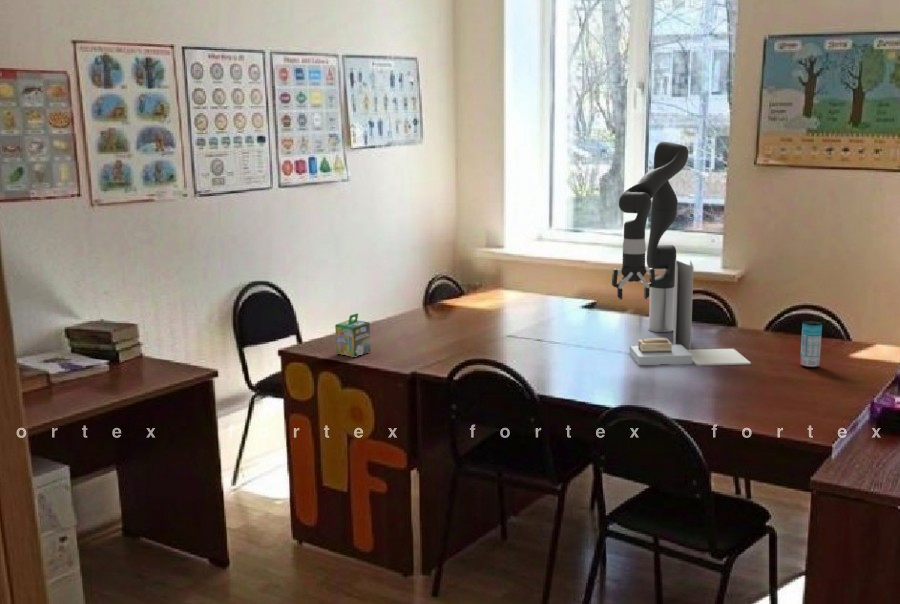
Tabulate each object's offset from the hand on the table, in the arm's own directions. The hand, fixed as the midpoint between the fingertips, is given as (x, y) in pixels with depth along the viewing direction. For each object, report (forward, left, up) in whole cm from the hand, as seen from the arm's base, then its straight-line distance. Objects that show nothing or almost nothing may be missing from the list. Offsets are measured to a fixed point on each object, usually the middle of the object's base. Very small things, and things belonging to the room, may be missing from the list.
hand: (633, 298), depth 300 cm
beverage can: (+15, +55, -21) cm, 61 cm away
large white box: (+2, +9, -21) cm, 23 cm away
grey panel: (-16, +21, -21) cm, 34 cm away
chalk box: (-14, -98, -21) cm, 101 cm away
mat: (+2, +28, -21) cm, 35 cm away
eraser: (+2, +7, -18) cm, 19 cm away
